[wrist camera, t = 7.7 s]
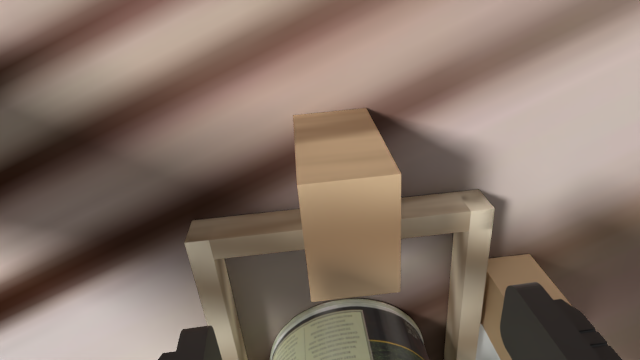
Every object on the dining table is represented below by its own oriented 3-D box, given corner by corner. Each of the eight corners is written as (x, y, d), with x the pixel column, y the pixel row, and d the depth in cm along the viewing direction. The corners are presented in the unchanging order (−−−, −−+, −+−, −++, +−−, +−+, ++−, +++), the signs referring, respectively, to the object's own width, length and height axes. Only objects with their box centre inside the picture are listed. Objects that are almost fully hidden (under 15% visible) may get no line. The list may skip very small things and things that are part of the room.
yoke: (167, 128, 20) (116, 204, 14) (488, 95, 21) (575, 155, 15) (246, 428, 31) (237, 545, 25) (456, 402, 32) (498, 512, 25)
